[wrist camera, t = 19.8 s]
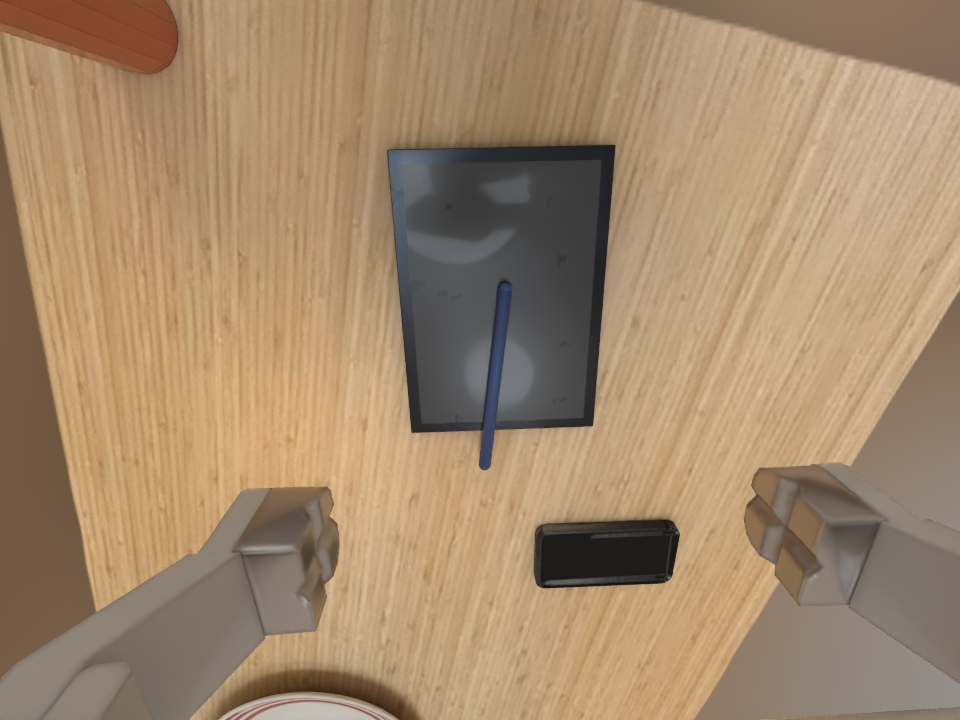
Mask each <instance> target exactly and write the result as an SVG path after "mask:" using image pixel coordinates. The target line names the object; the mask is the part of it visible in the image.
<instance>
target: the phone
mask: <svg viewBox="0 0 960 720" xmlns="http://www.w3.org/2000/svg"><path fill="white" fill-rule="evenodd" d="M679 537H680V533H679V531H678V529H677V528H676V526H675V524H674V523H673V522H672V521H669V520H658V521H631V522H605V523H579V524H554V525H543V526H541V527H539V528H538V529H537V531H536V534H535V561H534V575H535V580H536V584H537V585H538V586H539V587H541V588H564V587H588V586H612V585H635V584H659V583H665V582H667V581H669V580H670V579H671V577H672V575H673V569H674V564H675V558H676V553H677V547H678V542H679Z"/></svg>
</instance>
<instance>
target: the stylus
mask: <svg viewBox="0 0 960 720" xmlns="http://www.w3.org/2000/svg"><path fill="white" fill-rule="evenodd" d="M511 294H512V286H511V285H510V284H509V283H507V282H503V283H501V284H500V286H499V289H498V298H497V307H496V316H495V325H494V334H493V343H492V352H491V361H490V370H489V379H488V387H487V396H486V405H485V414H484V423H483V432H482V441H481V450H480V459H479V467H480V468H481V469H482V470H487V469H489V468H490V465H491V457H492V449H493V441H494V432H495V424H496V416H497V408H498V400H499V392H500V384H501V376H502V367H503V359H504V351H505V343H506V335H507V327H508V319H509V311H510V302H511Z"/></svg>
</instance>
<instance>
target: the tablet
mask: <svg viewBox="0 0 960 720" xmlns="http://www.w3.org/2000/svg"><path fill="white" fill-rule="evenodd" d="M387 156H388V168H389V179H390V190H391V202H392V213H393V225H394V236H395V248H396V259H397V271H398V282H399V294H400V305H401V316H402V328H403V339H404V351H405V362H406V374H407V385H408V397H409V408H410V420H411V431H412V433H419V432H446V431H474V430H483V423H484V414H485V405H486V396H487V387H488V379H489V370H490V361H491V352H492V343H493V334H494V325H495V316H496V307H497V298H498V289H499V286H500V284H501V283H503V282H507V283H509V284H510V285H511V286H512V294H511V302H510V311H509V319H508V327H507V335H506V343H505V351H504V359H503V367H502V376H501V384H500V392H499V400H498V408H497V416H496V424H495V430H501V429H529V428H556V427H584V426H593V419H594V406H595V394H596V381H597V369H598V356H599V344H600V331H601V319H602V306H603V294H604V282H605V269H606V257H607V244H608V232H609V219H610V207H611V194H612V182H613V169H614V157H615V145H592V146H544V147H496V148H448V149H400V150H387Z"/></svg>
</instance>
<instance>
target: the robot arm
mask: <svg viewBox="0 0 960 720" xmlns="http://www.w3.org/2000/svg"><path fill="white" fill-rule="evenodd" d="M751 486H752V488H753V490H754V491H755V493H756V496H755V497H754V498H753V499H752V500H751V501H750V502H749V503H748V504H747V505H746V510H745V515H744V523H745V529H746V534H747V536H748V538H749V540H750V543H751V545H752V546H753V547H754V549H755V550H756V551H757V553H758V554H759V555H760V556H762V557H763V558H765V559H767V560H768V561H770V562H772V563H773V564H775V576H776V577H777V578H778V580H779V581H780V582H781V584H782V585H783V586H784V587H785V589H786V590H787V591H788V592H789V594H790V595H791V596H792V597H793V599H794V600H795V601H796V602H797V604H798V605H799V606H828V605H829V606H830V605H849V608H850V609H851V610H853V611H854V612H856V613H858V614H859V615H860V616H861V617H863V618H864V619H866V620H867V621H869V622H870V623H872V624H873V625H875V626H876V627H877V628H879V629H881V630H882V631H883V632H885V633H887V634H888V635H889V636H891V637H892V638H894V639H895V640H897V641H898V642H899V643H901V644H902V645H904V646H905V647H907V648H908V649H910V650H911V651H913V652H914V653H915V654H917V655H918V656H920V657H921V658H923V659H924V660H926V661H927V662H929V663H930V664H932V665H933V666H934V667H936V668H937V669H939V670H940V671H942V672H943V673H945V674H946V675H948V676H949V677H950V678H952V679H953V680H955V681H956V682H958V683H959V684H960V531H957V530H955V529H952V528H950V527H947V526H945V525H942V524H940V523H937V522H934V521H932V520H920V519H919V518H918V517H916V516H915V515H913V514H912V513H911V512H910V511H908V510H907V509H906V508H904V507H903V506H902V505H900V504H899V503H898V502H896V501H895V500H894V499H892V498H891V497H889V496H888V495H887V494H886V493H884V492H883V491H882V490H880V489H879V488H877V487H876V486H875V485H874V484H872V483H871V482H870V481H868V480H867V479H865V478H864V477H863V476H862V475H860V474H859V473H858V472H856V471H855V470H854V469H852V468H851V467H850V466H847V465H844V464H841V463H826V464H812V465H811V466H790V467H770V468H759V469H758V470H757V472H756V473H755V474H754V477H753V481H752V484H751ZM333 506H334V503H333V499H332V494H331V490H330V489H329V488H328V487H286V488H257V489H246V490H244V491H242V492H241V493H240V494H239V495H238V497H237V498H236V499H235V501H234V502H233V504H232V505H231V507H230V508H229V509H228V511H227V512H226V514H225V515H224V517H223V518H222V520H221V521H220V522H219V524H218V525H217V527H216V528H215V530H214V531H213V532H212V534H211V535H210V537H209V538H208V540H207V541H206V543H205V544H204V545H203V547H202V548H201V550H200V551H199V553H198V554H192V555H187V556H185V557H184V558H182V559H181V560H179V561H178V562H176V563H174V564H173V565H171V566H170V567H168V568H166V569H165V570H163V571H162V572H160V573H158V574H157V575H155V576H154V577H152V578H151V579H149V580H147V581H146V582H144V583H143V584H141V585H139V586H138V587H136V588H135V589H133V590H132V591H130V592H128V593H127V594H125V595H124V596H122V597H120V598H119V599H117V600H116V601H114V602H112V603H111V604H109V605H108V606H106V607H105V608H103V609H101V610H100V611H98V612H97V613H95V614H93V615H92V616H90V617H89V618H87V619H85V620H84V621H82V622H81V623H79V624H78V625H76V626H75V627H73V628H71V629H70V630H68V631H67V632H65V633H63V634H62V635H60V636H59V637H57V638H56V639H54V640H52V641H51V642H49V643H47V644H46V645H44V646H43V647H41V648H39V649H38V650H36V651H35V652H33V653H32V654H30V655H28V656H27V657H25V658H24V659H22V660H21V661H19V662H17V663H16V664H14V665H13V666H12V668H11V669H10V670H9V671H8V672H7V673H6V674H5V675H4V676H3V677H2V678H1V679H0V720H189V719H190V718H191V717H192V716H193V714H194V713H195V712H196V711H197V710H198V709H199V708H200V707H201V706H202V705H203V704H204V703H205V702H206V701H207V700H208V698H209V697H210V696H211V695H212V694H213V693H214V692H215V691H216V690H217V689H218V688H219V687H220V686H221V685H222V684H223V683H224V681H225V680H226V679H227V678H228V677H229V676H230V675H231V674H232V673H233V672H234V671H235V670H236V669H237V668H238V667H239V666H240V664H241V663H242V662H243V661H244V660H245V659H246V658H247V657H248V656H249V655H250V654H251V653H252V652H253V651H254V650H255V648H256V647H257V646H258V645H259V644H260V643H261V642H262V641H263V640H264V639H265V637H264V636H266V635H278V634H290V633H302V632H314V631H316V629H317V626H318V623H319V620H320V617H321V614H322V611H323V608H324V605H325V602H326V598H327V595H326V590H325V585H324V584H325V583H327V582H328V581H329V580H330V579H331V578H332V577H333V576H334V573H335V569H336V566H337V562H338V554H339V531H338V525H337V523H336V522H335V521H334V520H333V519H332V518H331V517H329V516H330V514H331V511H332V508H333ZM756 720H758V719H756ZM759 720H960V707H958V708H957V707H956V708H939V709H922V710H907V711H906V710H905V711H889V712H872V713H856V714H841V715H840V714H839V715H824V716H806V717H789V718H774V719H759Z"/></svg>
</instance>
